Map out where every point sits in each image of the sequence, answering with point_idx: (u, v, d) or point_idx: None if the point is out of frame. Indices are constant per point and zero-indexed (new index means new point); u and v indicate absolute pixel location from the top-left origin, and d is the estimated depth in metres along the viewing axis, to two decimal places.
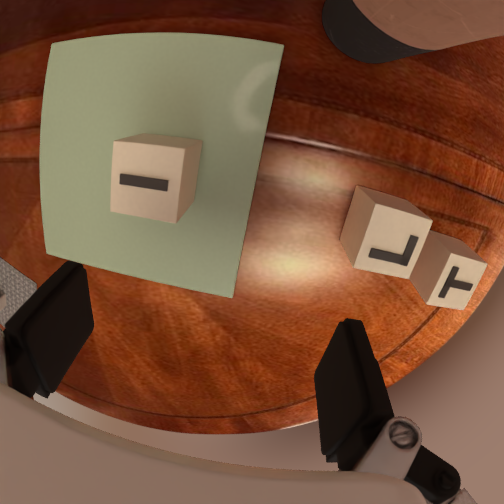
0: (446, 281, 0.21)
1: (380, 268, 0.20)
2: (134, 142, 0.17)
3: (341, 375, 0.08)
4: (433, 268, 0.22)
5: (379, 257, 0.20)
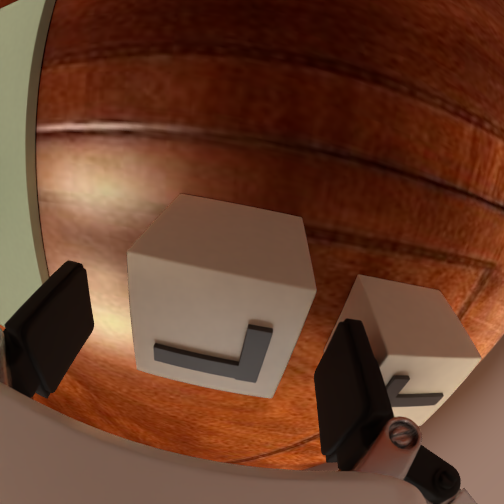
0: None
1: (194, 378, 0.09)
2: None
3: (341, 375, 0.08)
4: None
5: (178, 363, 0.09)
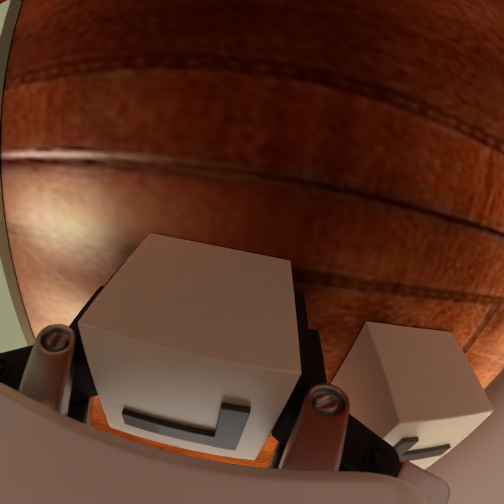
0: None
1: (169, 440, 0.08)
2: None
3: None
4: None
5: (149, 429, 0.07)
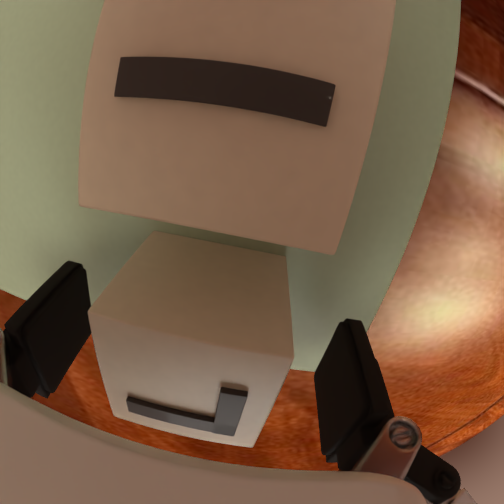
0: None
1: (171, 428, 0.08)
2: None
3: (341, 375, 0.08)
4: None
5: (152, 416, 0.08)
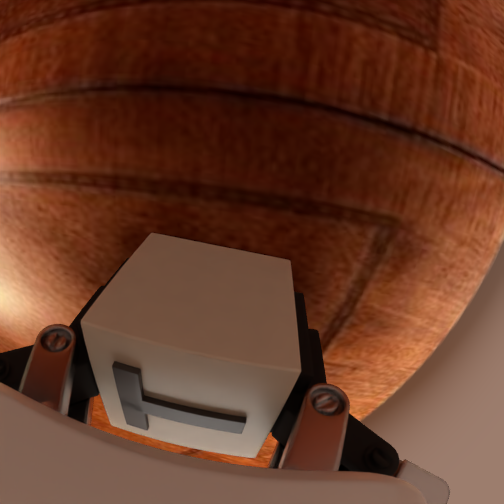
0: (126, 396, 0.07)
1: None
2: None
3: None
4: None
5: None
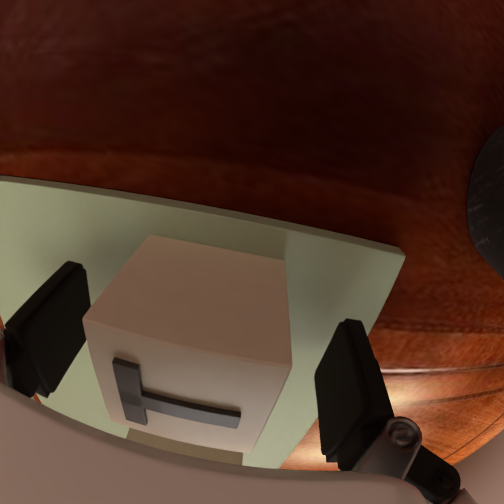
0: (125, 391, 0.07)
1: None
2: None
3: (341, 375, 0.08)
4: None
5: None
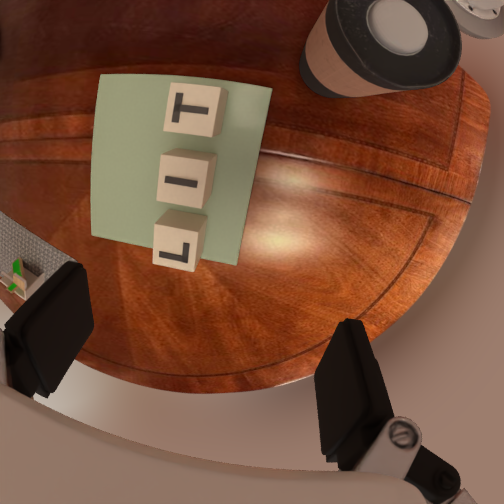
0: (175, 107, 0.25)
1: (170, 264, 0.33)
2: (175, 156, 0.28)
3: (341, 375, 0.08)
4: None
5: (165, 257, 0.32)
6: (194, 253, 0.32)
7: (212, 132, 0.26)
